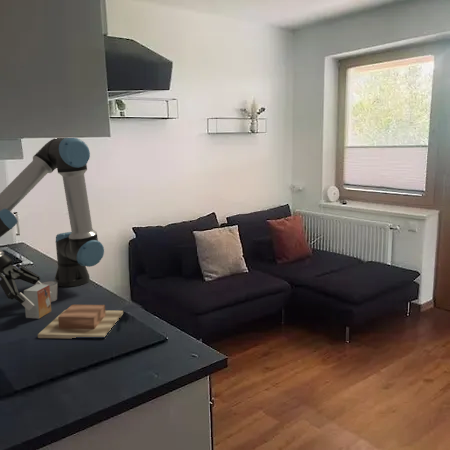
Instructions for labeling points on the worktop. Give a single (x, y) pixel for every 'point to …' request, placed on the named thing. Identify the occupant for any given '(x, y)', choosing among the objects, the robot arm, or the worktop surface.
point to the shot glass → (52, 289)
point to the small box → (38, 301)
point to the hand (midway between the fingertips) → (40, 301)
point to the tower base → (82, 332)
